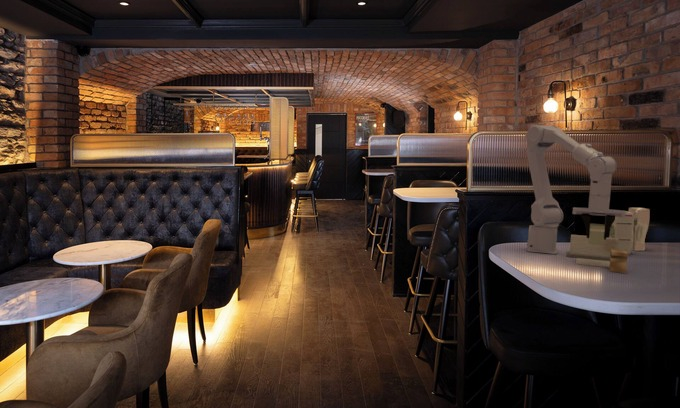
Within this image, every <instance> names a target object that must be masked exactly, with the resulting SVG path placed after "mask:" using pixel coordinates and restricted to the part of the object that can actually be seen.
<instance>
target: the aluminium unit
mask: <svg viewBox="0 0 680 408" xmlns="http://www.w3.org/2000/svg"><path fill="white" fill-rule="evenodd" d="M588 240H589V238H587V235H579V234H571V235H570V241H569V242H570V243H569V251H566V252H565V253H566V254H565V256H566V257H567V258H574V257H575V258H581V259H591V260H601V261H610V253H611V250H618V242H619V240H618V238H609V237H606V240H605V239H604V242H603V245H592V244H589V243H588Z"/></svg>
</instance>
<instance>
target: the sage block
mask: <svg viewBox="0 0 680 408" xmlns="http://www.w3.org/2000/svg"><path fill="white" fill-rule="evenodd" d="M604 232H605V224H604V223H603V224H600V223H590V227H589V240H588V243H589V244H592V245H603V242H604Z"/></svg>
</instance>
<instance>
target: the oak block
mask: <svg viewBox="0 0 680 408" xmlns="http://www.w3.org/2000/svg"><path fill="white" fill-rule="evenodd" d="M628 255H629V254H628V253H627V252H626V251H622V250H611V253H610V266H609V267H608V268H609V272H611V273H619V274H626V272H627V265H628V264H627V263H628V262H627V261H628Z"/></svg>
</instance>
